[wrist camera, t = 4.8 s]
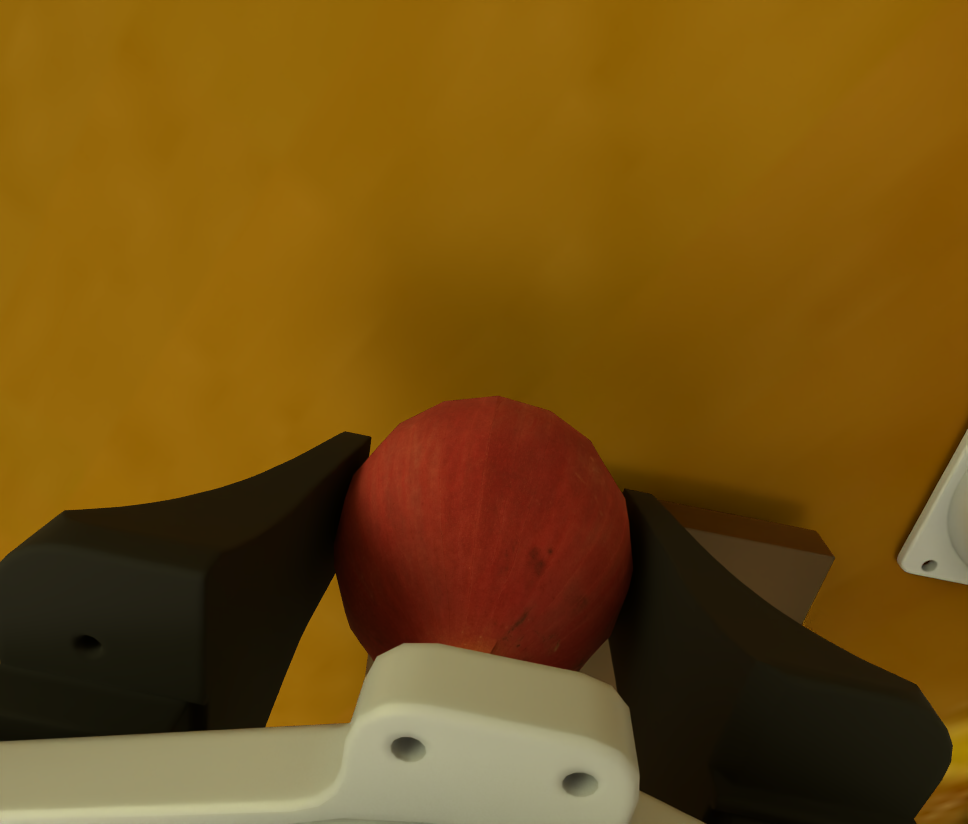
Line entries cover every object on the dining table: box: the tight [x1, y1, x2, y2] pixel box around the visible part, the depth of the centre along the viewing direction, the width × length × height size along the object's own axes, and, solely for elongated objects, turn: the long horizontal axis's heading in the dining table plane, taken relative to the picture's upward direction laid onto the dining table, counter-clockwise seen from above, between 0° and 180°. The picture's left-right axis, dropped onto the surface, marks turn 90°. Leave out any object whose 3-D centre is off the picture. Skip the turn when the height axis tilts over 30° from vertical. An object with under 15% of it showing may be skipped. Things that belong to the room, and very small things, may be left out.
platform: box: [365, 493, 835, 692], centre depth 26 cm, size 15×20×3 cm
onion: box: [334, 396, 633, 672], centre depth 12 cm, size 6×6×8 cm
